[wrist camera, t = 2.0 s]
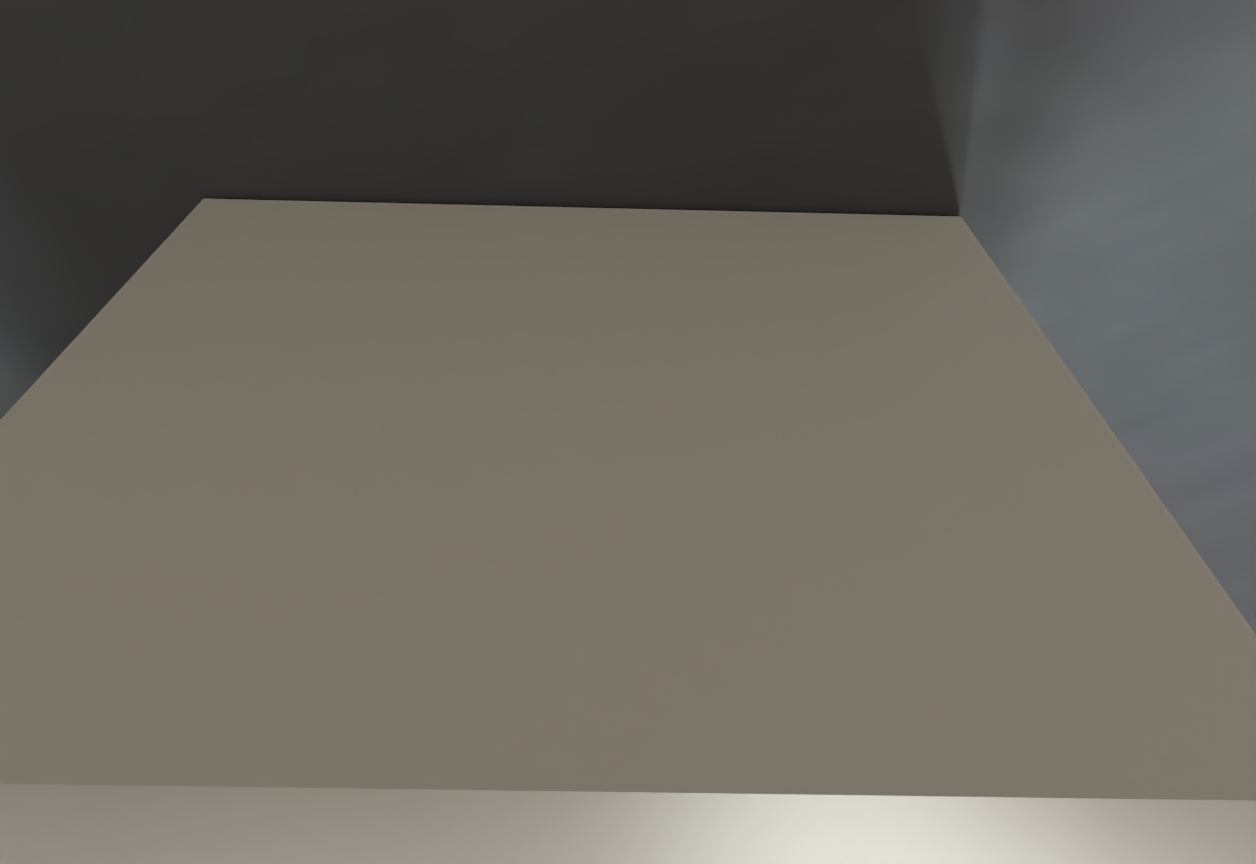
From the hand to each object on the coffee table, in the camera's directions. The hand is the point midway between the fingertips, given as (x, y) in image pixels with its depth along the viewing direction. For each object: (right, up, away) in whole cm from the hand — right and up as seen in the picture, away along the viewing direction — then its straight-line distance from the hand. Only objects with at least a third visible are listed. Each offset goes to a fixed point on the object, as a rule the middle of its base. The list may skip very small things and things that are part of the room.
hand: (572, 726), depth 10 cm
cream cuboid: (0, +2, +3) cm, 3 cm away
